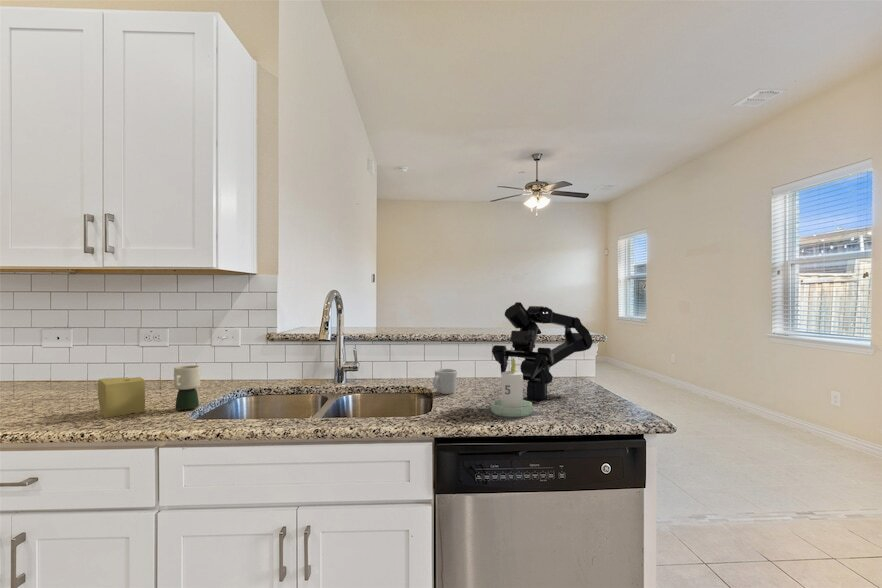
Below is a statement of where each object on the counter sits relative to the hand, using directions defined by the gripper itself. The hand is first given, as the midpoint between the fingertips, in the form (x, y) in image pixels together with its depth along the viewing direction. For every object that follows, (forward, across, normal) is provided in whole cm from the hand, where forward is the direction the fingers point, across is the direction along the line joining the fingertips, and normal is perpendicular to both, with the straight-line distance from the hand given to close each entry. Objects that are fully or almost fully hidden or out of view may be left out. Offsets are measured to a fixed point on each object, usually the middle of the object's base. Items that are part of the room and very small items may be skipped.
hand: (516, 377), depth 134 cm
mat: (+10, 0, +5) cm, 11 cm away
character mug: (+39, -90, -25) cm, 102 cm away
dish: (+9, 0, +4) cm, 10 cm away
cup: (0, -30, +15) cm, 34 cm away
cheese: (+46, -104, -33) cm, 119 cm away
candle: (+9, 0, +4) cm, 10 cm away
